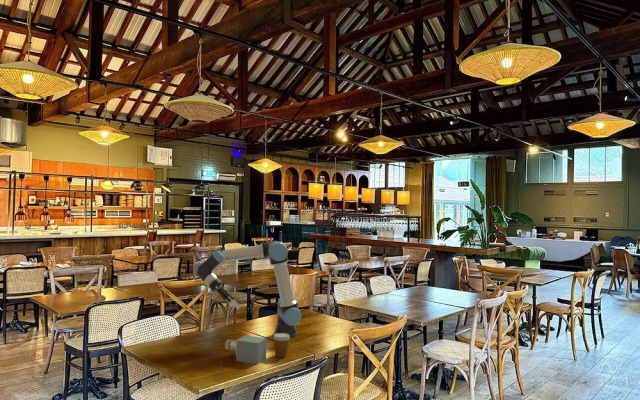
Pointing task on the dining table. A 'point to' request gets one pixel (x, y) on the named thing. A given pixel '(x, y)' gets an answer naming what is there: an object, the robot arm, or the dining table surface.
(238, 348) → the block
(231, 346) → the steel peg
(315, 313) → the dining table surface
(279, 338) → the disposable coffee cup
